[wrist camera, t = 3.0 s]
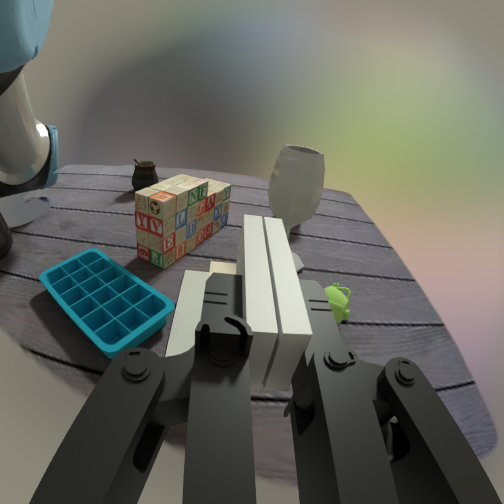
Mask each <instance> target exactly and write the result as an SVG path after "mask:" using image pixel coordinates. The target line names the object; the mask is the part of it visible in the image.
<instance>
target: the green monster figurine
mask: <svg viewBox="0 0 504 504" xmlns="http://www.w3.org/2000/svg"><path fill="white" fill-rule="evenodd" d="M335 285H337V287H335ZM324 290H325V292H326V295H327V298H328V300H329V301H328V303H330V306H331V309H332V310H331V311H332V312H333V315H334V318H335V321H336V324H340V322H341V321H342V319H343V318H344V319H346V320H348V315H349V312H350V310H347V307H348V304H349V301H348V299H349V298H350V295H351V293H350V290H349V289H348V288H343V287H339V284H338V283H334V284H333V286H330V287H327V288H325V289H324ZM340 290H345V291H347V292H348V296H347V298H346V297H345V295H344V294H343V293H342V292H341V291H340Z"/></svg>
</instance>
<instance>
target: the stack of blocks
mask: <svg viewBox="0 0 504 504" xmlns="http://www.w3.org/2000/svg"><path fill="white" fill-rule="evenodd" d="M230 190H231V185H230V184H227V183H223V182H220V181H215V180H211V179H208V178H206V179H199V178H195V177H191V176H187V175H183V174H180V175H178V176H175V177H172V178H170V179H167V180H165V181H162V182H160V183H157V184H155V185H152V186H150V187H147V188H144V189H142V190H139V191H137V192H135V209H136V210H135V225H136V235H137V251H138V257H139V258H141V259H143V260H145V261H147V262H149V263H152V264H154V265H156V266H158V267H160V268H162V269H165V268H167V267H168V266H169V265H171V264H172V263H174V262H175V261H177V260H178V259H180V258H181V257H182V256H184V255H185V254H187V253H188V252H189V251H191V250H192V249H194V248H195V246H197V245H198V244H200V243H201V242H202V241H203V240H205V239H206V238H208V237H209V236H210V235H211V234H214V233H215V232H216V231H218V230H219V229H221V228H222V227H224V226H225V225H226V224H227V219H228V211H229V203H230Z"/></svg>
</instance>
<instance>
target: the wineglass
mask: <svg viewBox="0 0 504 504" xmlns="http://www.w3.org/2000/svg"><path fill="white" fill-rule="evenodd" d="M324 167H325V166H324V155H323V153H321V152H319V151H317V150H315V149H312V148H308V147H306V146H299V145H293V144H291V145H284V146H283V148H282V150H281V152H280V154H279V156H278V157H277V160H276V163H275V166H274V169H273V172H272V175H271V179H270V184H269V190H268V195H269V207H270V209H271V211H272V213H273V215H274V216H275V217H276V218H277V219H282V222H283V226H284V229H285V233H286V236H287V240H288V239H289V235H290V230H291V228H292V227H294V226H296V225H299V224H301V223H303V222H305V221H307V220H309V219H311V218H312V216H313V214H314V212H315V211H316V209H317V207H318V205H319V203H320V199H321V195H322V191H323V183H324V171H325V168H324ZM291 254H292V258H293V261H294V265H295V269H296V272H299V271H300V270H302V269H303V268H304V265H303V263H302V261H301V260H300V258H299V256H298V255H296V254H295V253H293V252H291Z"/></svg>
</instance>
